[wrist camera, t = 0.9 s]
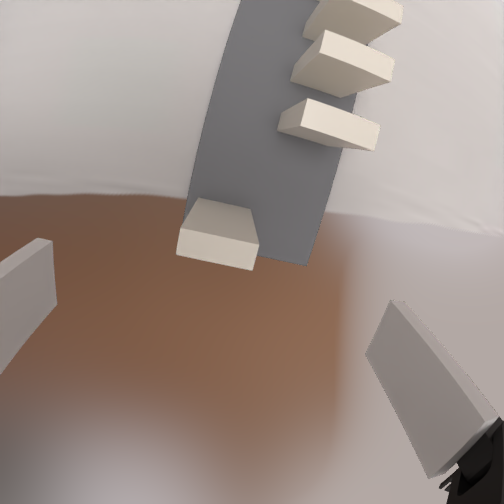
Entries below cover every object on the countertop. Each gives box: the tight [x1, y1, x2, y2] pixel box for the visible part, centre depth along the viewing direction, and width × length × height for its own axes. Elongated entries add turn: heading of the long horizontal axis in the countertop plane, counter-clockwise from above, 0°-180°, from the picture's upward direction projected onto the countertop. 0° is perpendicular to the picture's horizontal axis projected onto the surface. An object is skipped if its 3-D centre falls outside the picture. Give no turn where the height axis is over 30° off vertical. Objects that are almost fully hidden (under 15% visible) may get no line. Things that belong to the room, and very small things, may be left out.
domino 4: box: [277, 98, 381, 151], centre depth 21 cm, size 5×2×10 cm, turn 76°
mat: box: [183, 0, 368, 266], centre depth 24 cm, size 13×34×1 cm, turn 166°
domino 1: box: [176, 198, 259, 270], centre depth 23 cm, size 5×2×10 cm, turn 76°
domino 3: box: [290, 30, 395, 98], centre depth 19 cm, size 5×2×10 cm, turn 76°
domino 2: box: [302, 0, 404, 45], centre depth 18 cm, size 5×2×10 cm, turn 76°
